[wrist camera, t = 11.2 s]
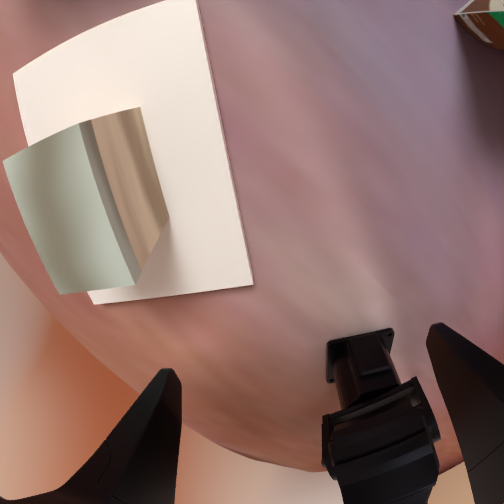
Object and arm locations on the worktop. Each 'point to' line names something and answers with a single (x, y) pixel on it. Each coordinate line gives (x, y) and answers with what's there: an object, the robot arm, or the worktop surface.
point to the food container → (484, 21)
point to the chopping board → (153, 137)
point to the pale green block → (91, 201)
